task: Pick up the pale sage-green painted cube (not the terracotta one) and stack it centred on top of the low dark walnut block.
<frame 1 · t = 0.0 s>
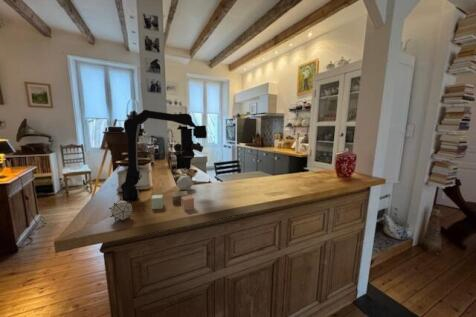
hand: (187, 167, 107), 15 cm above the countertop, fingers open, 9 cm apart
terracotta block: (187, 208, 91), on the countertop
game die: (122, 220, 79), on the countertop
die: (185, 189, 117), on the countertop
walnut base: (180, 201, 100), on the countertop
sage block: (157, 207, 92), on the countertop
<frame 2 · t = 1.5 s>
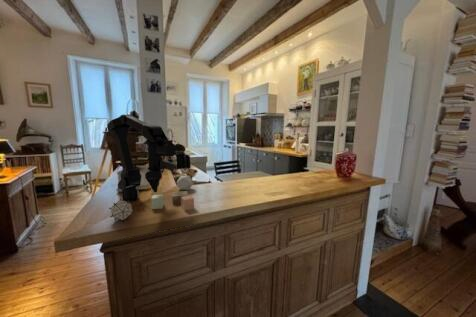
hand: (156, 189, 91), 8 cm above the countertop, fingers open, 9 cm apart
nothing on the countertop moved.
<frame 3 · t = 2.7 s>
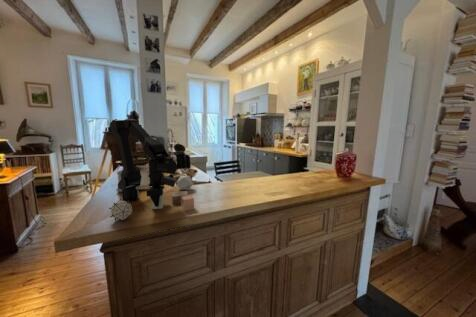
hand: (157, 204, 92), 1 cm above the countertop, fingers closed on sage block, 4 cm apart
sage block: (157, 206, 92), on the countertop, touching gripper
everything else where it was.
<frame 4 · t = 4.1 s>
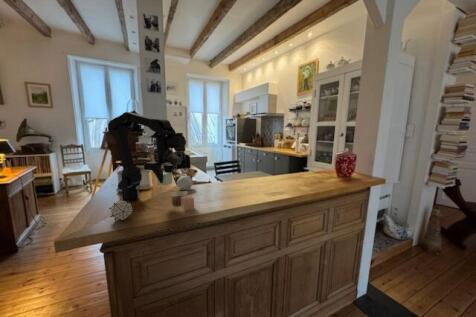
hand: (165, 181, 93), 11 cm above the countertop, fingers closed on sage block, 4 cm apart
sage block: (165, 183, 93), point 10 cm above the countertop, touching gripper
everything else where it was.
when the fingers open (6 cm above the countertop, at t = 5.6 s): sage block drops 2 cm, resting on walnut base.
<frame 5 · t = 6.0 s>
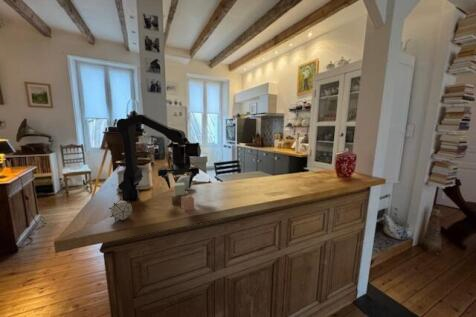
hand: (179, 188, 99), 6 cm above the countertop, fingers open, 9 cm apart
walnut base: (180, 201, 100), on the countertop, touching sage block
sage block: (179, 193, 99), point 4 cm above the countertop, touching walnut base
everything else where it was.
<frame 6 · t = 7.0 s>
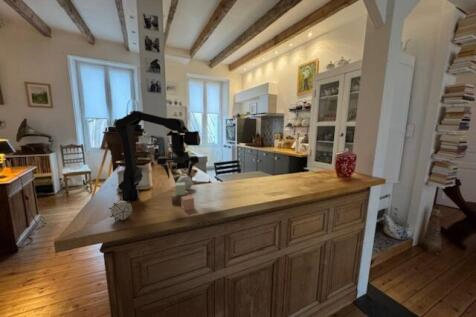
hand: (179, 177, 98), 12 cm above the countertop, fingers open, 9 cm apart
nothing on the countertop moved.
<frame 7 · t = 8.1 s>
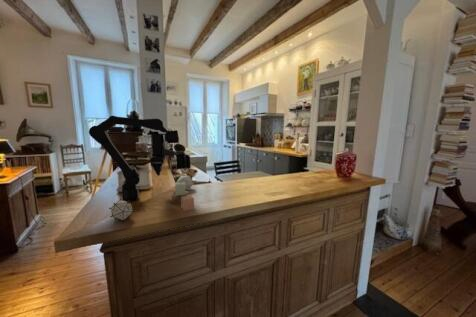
hand: (159, 173, 105), 12 cm above the countertop, fingers open, 9 cm apart
nothing on the countertop moved.
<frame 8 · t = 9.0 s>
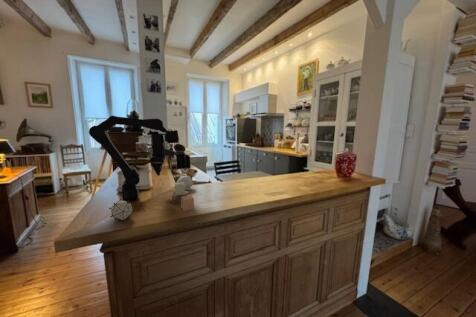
hand: (159, 173, 105), 12 cm above the countertop, fingers open, 9 cm apart
walnut base: (180, 201, 100), on the countertop
sage block: (179, 193, 99), point 4 cm above the countertop
everything else where it was.
at the end: sage block 0.1 cm off-centre on the walnut base, point 4.0 cm above the walnut base's base; sage block tilted 0°; the gripper is holding nothing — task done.
